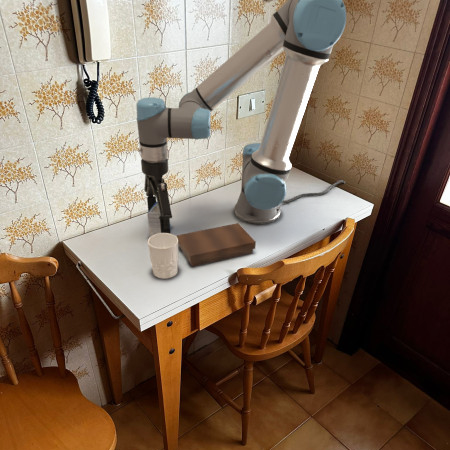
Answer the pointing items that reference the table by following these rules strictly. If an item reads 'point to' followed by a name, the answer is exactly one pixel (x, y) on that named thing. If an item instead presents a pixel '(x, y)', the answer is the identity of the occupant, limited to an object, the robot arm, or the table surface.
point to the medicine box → (154, 220)
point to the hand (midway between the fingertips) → (159, 225)
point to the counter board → (216, 244)
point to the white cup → (164, 254)
